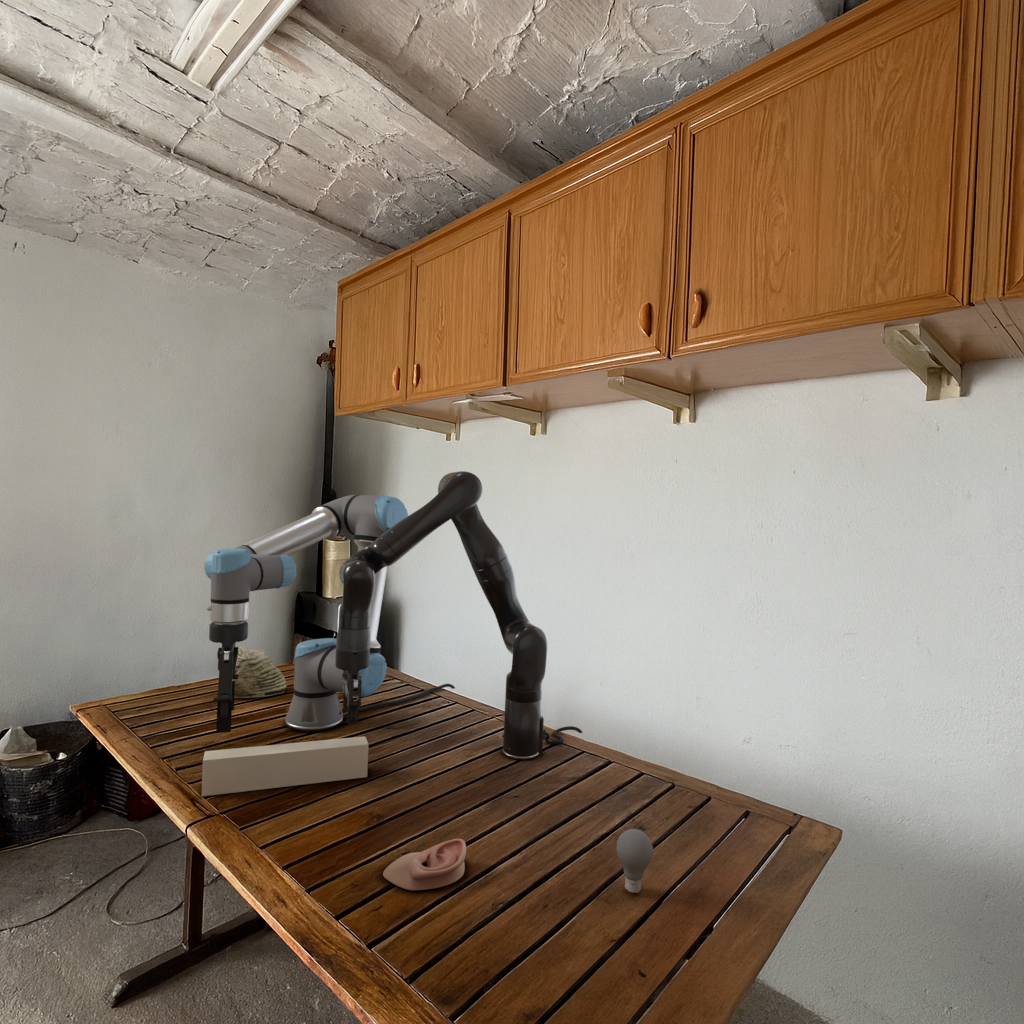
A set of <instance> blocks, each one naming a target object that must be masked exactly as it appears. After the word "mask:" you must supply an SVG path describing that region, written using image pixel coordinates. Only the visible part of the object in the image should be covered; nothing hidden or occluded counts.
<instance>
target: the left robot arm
mask: <svg viewBox="0 0 1024 1024" xmlns="http://www.w3.org/2000/svg"><path fill="white" fill-rule="evenodd" d="M407 516H409V512H408V510H407V508H406V505H405V504H404V502H403V501H402V500H401V499H399V498H398V497H395V496H390V495H383V494H382V495H377V494H376V495H374V494H349V495H346V496H342V497H339V498H336V499H334V500H333V499H332V500H331V501H329V502H326V503H324V504H322V505H319V506H317V507H316V508H314V509H313V510H312V512H311V514H308V515H306V516H304V517H301V518H300V519H298V520H295V521H293V522H291V523H288V524H286V525H284V526H282V527H279V528H277V529H275V530H273V531H270V532H268V533H266V534H264V535H261V536H259V537H257V538H255V539H253V540H251V541H248V542H245V543H244V544H242V545H238V546H236V547H233V548H232V547H231V548H218V549H216V550H214V551H211V552H210V553H209V554H208V556H207V557H206V558H205V561H204V567H203V568H204V572H205V575H206V577H208V579H210V605H208V606H207V607H206V610H207V611H209V620H210V621H211V623H210V624H209V633H208V639H209V641H210V642H212V643H214V644H215V643H216V644H218V643H219V644H221V647H218V648H217V653H216V654H217V655H216V656H217V671H218V684H217V685H218V686H217V696H216V697H213V703H216V731H215V733H216V734H223V733H231V732H232V717H233V716H232V715H233V714H232V713H233V711H235V698H234V697H235V680H234V679H238V674H235V673H236V671H235V669H236V662H237V658H238V647H239V646H237V645H236V643H240V642H241V643H242V642H243V641H246V640H247V639H248V636H249V635H248V634H249V623H248V621H247V620H249V618H250V617H249V616H250V592H255V591H264V590H273V589H276V590H279V589H281V588H284V587H288V586H290V585H292V584H293V582H294V581H295V579H296V576H297V565H296V562H295V561H294V559H293V558H292V557H291V556H292V555H295V554H296V553H298V552H300V551H302V550H304V549H307V548H308V547H310V546H313V545H315V544H316V543H318V542H320V541H323V540H333V539H335V538H338V537H341V536H354V537H353V542H354V543H355V545H356V547H357V552H358V551H360V550H362V549H363V548H365V547H367V546H368V545H370V544H371V543H373V542H374V541H375V540H376V539H377V538H378V537H379V536H381V535H382V534H383V533H385V532H386V531H387V530H388V529H390V528H391V527H392V526H393V525H395V524H396V523H398V522H399V521H401V520H402V519H404V518H406V517H407ZM388 567H389V566H386V567H384V568H383V569H381V570H380V571H379V572H377V573H376V574H375V584H374V591H373V597H372V602H371V607H370V611H371V616H370V636H371V639H370V660H369V666H368V667H367V668H366V669H361V670H360V671H359V673H360V676H361V677H362V684H361V698H367V697H370V696H372V695H373V694H374V693H376V692H377V690H378V689H379V688H380V687H381V686H382V684H383V682H384V680H385V678H386V675H387V669H388V666H387V665H388V664H387V662H386V658H385V657H384V656H383V655H382V654H381V649H382V648H381V646H382V645H381V644H380V643H379V641H378V640H377V638H378V630H379V625H380V624H379V623H380V617H381V612H382V611H381V610H382V604H383V598H384V593H385V586H386V585H385V584H386V579H387V578H386V577H387V573H388ZM336 642H337V637H336V638H335V637H324V638H323V637H322V638H313V639H308V640H304V641H302V642H299V643H298V644H297V645H296V647H295V652H294V653H295V654H294V657H293V658H294V660H293V662H294V663H293V665H294V666H293V695H292V696H293V697H292V699H291V702H290V704H289V706H288V707H285V712H287V713H286V715H285V726H286V728H287V729H289V730H291V731H294V732H295V731H296V732H301V733H316V732H325V731H329V730H332V729H335V728H337V727H339V726H340V725H342V723H343V722H344V714H343V713H348V711H343V708H342V706H341V702H340V699H339V695H338V693H340V694H343V693H342V691H343V689H342V674H343V670H341V669H338V668H337V667H336V665H335V663H336ZM232 680H233V681H232ZM445 688H450V689H452V690H454V689H456V686H454V685H453V684H451V683H444V684H441V685H438V686H435V687H432V688H429V689H426V690H424V691H422V692H420V693H417V694H414V695H411V696H408V697H405V698H401V699H396V700H395V699H394V700H390V701H384V702H378V703H374V704H369V705H365V706H362V707H361V706H360V707H358V713H359V712H363V711H367V710H370V709H375V708H379V707H385V706H391V705H397V704H402V703H405V702H408V701H409V702H410V701H412V700H415V699H417V698H420V697H423V696H426V695H428V694H430V693H432V692H434V691H439V690H442V689H445Z"/></svg>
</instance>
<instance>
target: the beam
mask: <svg viewBox="0 0 1024 1024" xmlns="http://www.w3.org/2000/svg"><path fill="white" fill-rule="evenodd" d="M202 758H203V759H202V770H201V771H202V772H201V773H202V776H201V797H209V796H210V797H211V796H215V795H216V796H219V795H225V794H233V793H243V792H250V791H261V790H269V789H276V788H277V789H278V788H285V787H293V786H302V785H304V786H305V785H312V784H321V783H327V782H336V781H346V780H354V779H355V780H356V779H363V778H364V779H365V778H368V772H369V771H368V767H369V741H368V740H367V737H366V735H365V736H354V737H343V738H334V739H333V738H332V739H322V740H311V741H301V742H289V743H280V744H268V745H267V744H266V745H258V746H248V747H246V746H245V747H236V748H226V749H215V750H205V751H204V754H203V757H202Z"/></svg>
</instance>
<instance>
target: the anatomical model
mask: <svg viewBox="0 0 1024 1024" xmlns="http://www.w3.org/2000/svg"><path fill="white" fill-rule="evenodd" d="M466 856H467V844H466V842H465V840H464V839H462V838H453V839H449V840H446V841H443V842H440V843H438V844H435V845H433V846H431V847H428V848H426V849H424V850H422V851H420V852H419V851H418V852H417V851H416V852H410V853H409V852H408V853H407V854H404V855H402V856H400V857H398V858H396V859H395V860H394V861H392V862H391V863H390V864H389V865H388V866H387V867H385V869H384V870H383V872H382V876H383V878H384V879H385V880H387V881H388V882H390V883H392V885H395V886H397V887H398V888H401V889H404V890H407V891H423V890H432V889H439V888H442V887H445V886H448V885H451V884H453V883H456V882H457V881H459V880H460V879H461V878H462V877H464V874H465V871H466V865H465V859H466Z"/></svg>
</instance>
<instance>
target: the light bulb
mask: <svg viewBox="0 0 1024 1024" xmlns="http://www.w3.org/2000/svg"><path fill="white" fill-rule="evenodd" d="M615 849H616V854H617V857H618V859H619V861H620V863H621V865H622V867H623V873H624V874H623V875H624V876H625V878H624V888H625V890H627V891H628V892H630V893H634V894H635V893H639V892H640V891H641V889H642V887H641V886H642V879H643V877H644V875H645V871H646V868H647V867H648V866H649V864H650V863H651V861H652V859H653V855H654V847H653V843H652V841H651V838H649V836H648V835H647V834H646V833H645V832H643V831H642V830H641V829H636V828H629V829H627V830H625V831H623V832H622V833H621V834H620V835H619V837H618V839H617V841H616V847H615Z"/></svg>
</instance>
